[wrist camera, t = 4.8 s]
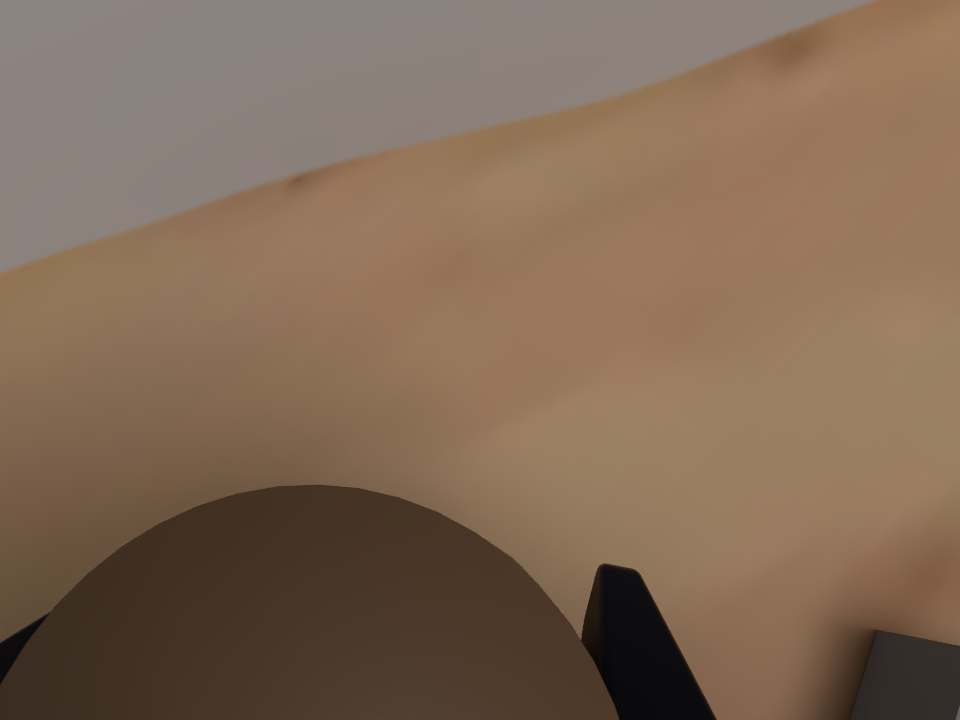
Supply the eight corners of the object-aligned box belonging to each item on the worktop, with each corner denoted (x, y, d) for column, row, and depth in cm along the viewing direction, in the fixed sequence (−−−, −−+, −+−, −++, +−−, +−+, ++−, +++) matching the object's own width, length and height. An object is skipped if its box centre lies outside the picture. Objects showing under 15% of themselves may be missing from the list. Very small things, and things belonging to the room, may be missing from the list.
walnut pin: (502, 768, 14) (465, 1457, 3) (331, 682, 14) (-192, 1035, 4) (576, 583, 15) (744, 653, 4) (410, 508, 15) (163, 387, 4)
